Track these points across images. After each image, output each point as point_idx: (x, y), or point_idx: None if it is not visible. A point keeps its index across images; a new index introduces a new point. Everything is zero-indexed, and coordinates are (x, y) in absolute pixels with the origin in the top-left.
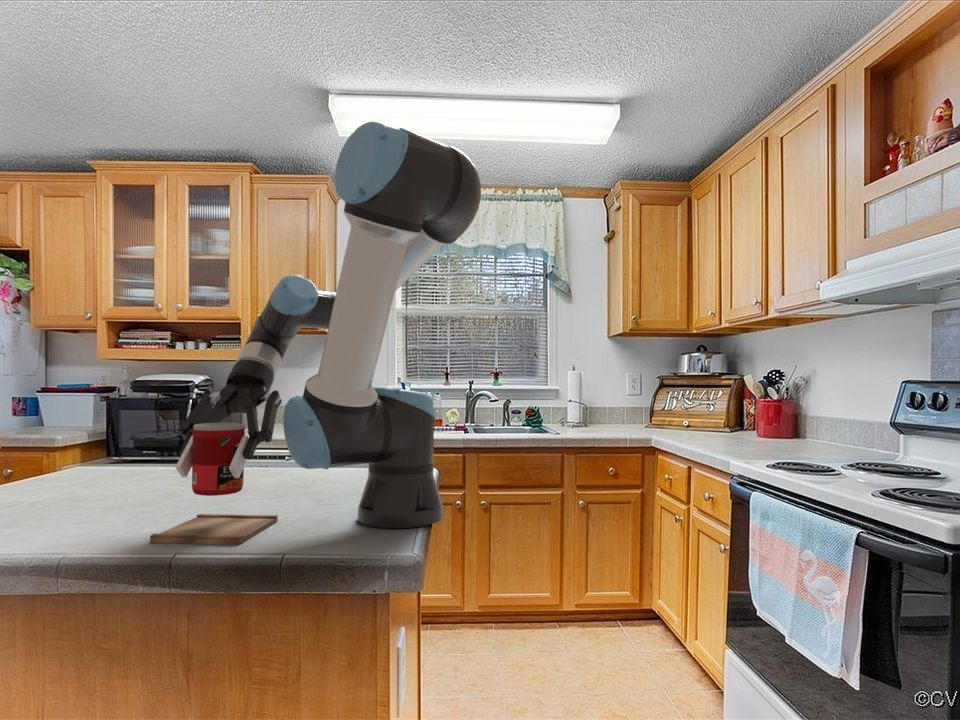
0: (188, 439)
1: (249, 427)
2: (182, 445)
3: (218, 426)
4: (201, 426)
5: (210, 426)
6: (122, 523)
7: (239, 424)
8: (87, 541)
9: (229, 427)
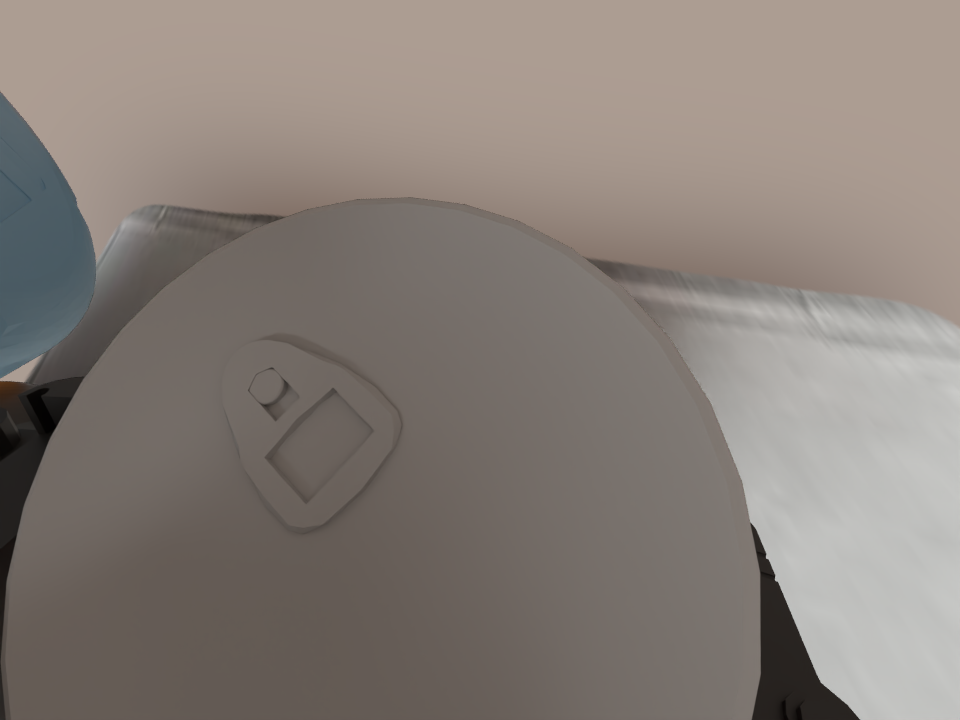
0: (767, 641)
1: (15, 511)
2: (771, 569)
3: (341, 205)
4: (540, 235)
5: (427, 204)
6: (889, 714)
7: (62, 626)
8: (845, 446)
9: (239, 250)
